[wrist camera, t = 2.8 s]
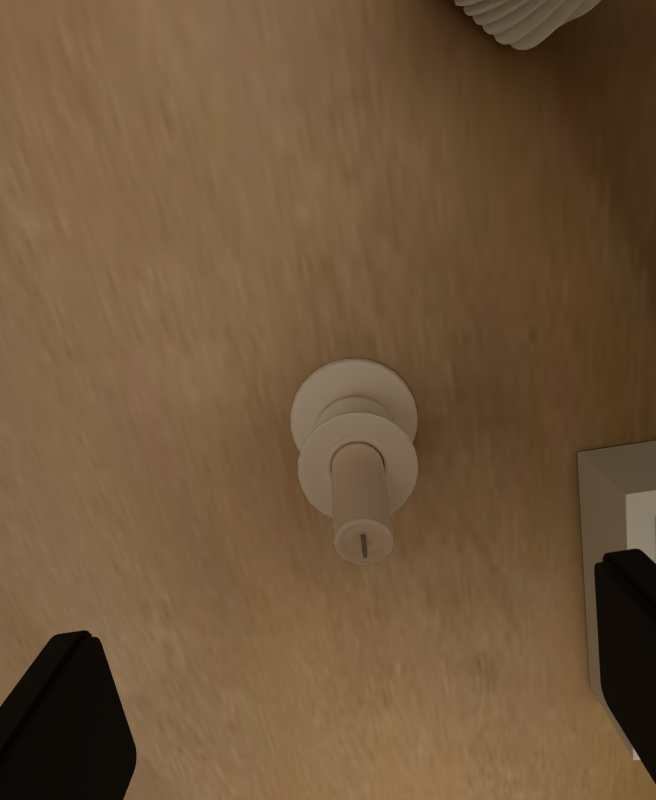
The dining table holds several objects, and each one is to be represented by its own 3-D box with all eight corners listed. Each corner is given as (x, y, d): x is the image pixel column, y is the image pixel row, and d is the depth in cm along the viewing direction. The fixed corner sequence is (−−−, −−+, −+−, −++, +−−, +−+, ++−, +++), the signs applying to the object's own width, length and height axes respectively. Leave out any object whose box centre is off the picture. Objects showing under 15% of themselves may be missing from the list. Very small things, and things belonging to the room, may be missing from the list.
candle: (404, 484, 23) (453, 663, 13) (284, 467, 23) (242, 635, 13) (427, 366, 22) (501, 468, 12) (299, 348, 22) (264, 435, 12)
